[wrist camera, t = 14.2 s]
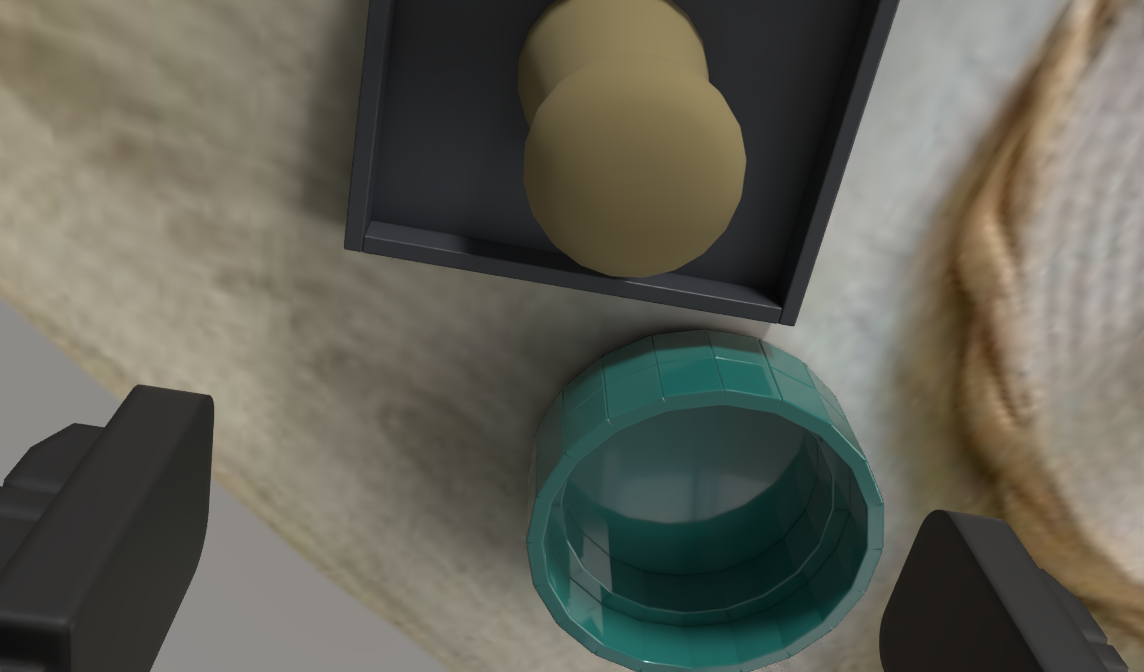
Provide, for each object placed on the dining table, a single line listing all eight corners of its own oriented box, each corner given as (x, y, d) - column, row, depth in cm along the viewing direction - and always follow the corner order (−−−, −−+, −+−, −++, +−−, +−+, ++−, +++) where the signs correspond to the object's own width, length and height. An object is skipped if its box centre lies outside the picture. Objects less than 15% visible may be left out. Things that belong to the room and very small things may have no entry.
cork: (537, -42, 31) (531, 22, 21) (731, 4, 31) (814, 85, 22) (500, 151, 33) (478, 288, 24) (680, 189, 34) (732, 337, 24)
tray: (354, 228, 35) (343, 249, 33) (400, -202, 29) (390, -203, 28) (783, 303, 37) (795, 327, 35) (906, -92, 31) (928, -87, 29)
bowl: (506, 569, 42) (500, 655, 37) (563, 299, 36) (564, 362, 32) (795, 610, 43) (822, 698, 39) (891, 355, 38) (935, 423, 33)
